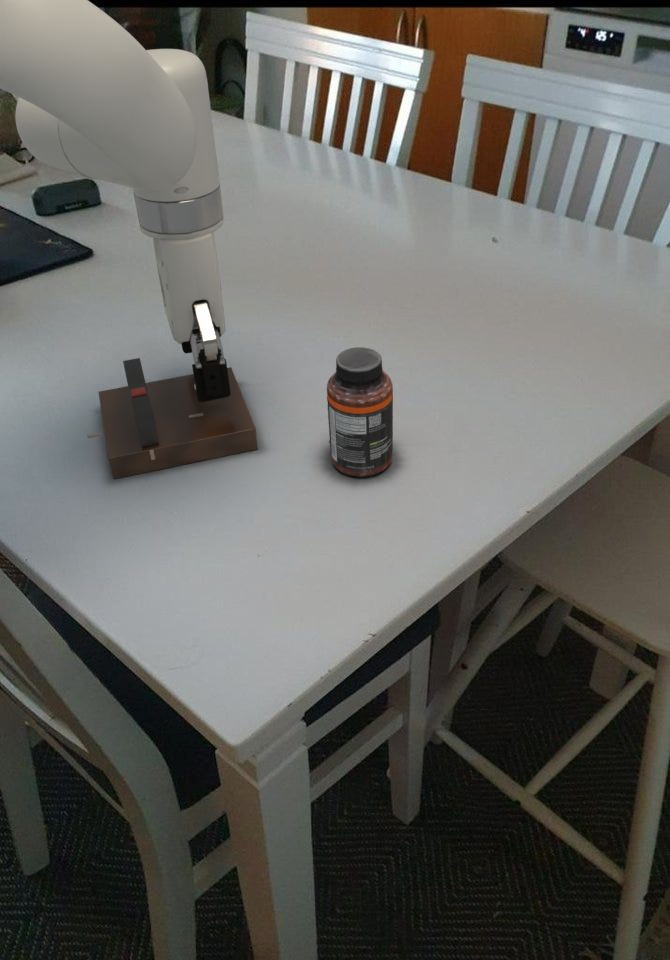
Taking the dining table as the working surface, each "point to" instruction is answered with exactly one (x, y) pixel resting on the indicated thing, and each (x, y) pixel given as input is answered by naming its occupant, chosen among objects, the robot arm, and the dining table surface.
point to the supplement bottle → (360, 413)
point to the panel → (175, 426)
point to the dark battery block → (140, 402)
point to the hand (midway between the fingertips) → (205, 373)
